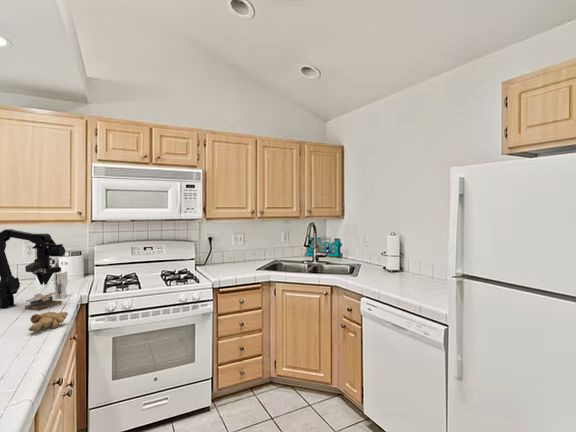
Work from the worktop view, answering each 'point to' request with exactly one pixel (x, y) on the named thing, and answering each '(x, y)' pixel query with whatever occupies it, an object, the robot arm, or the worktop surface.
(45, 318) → the ginger root
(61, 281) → the beer glass
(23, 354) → the worktop surface
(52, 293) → the far rocker
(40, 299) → the middle rocker
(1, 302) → the robot arm
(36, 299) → the near rocker
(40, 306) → the switch unit
